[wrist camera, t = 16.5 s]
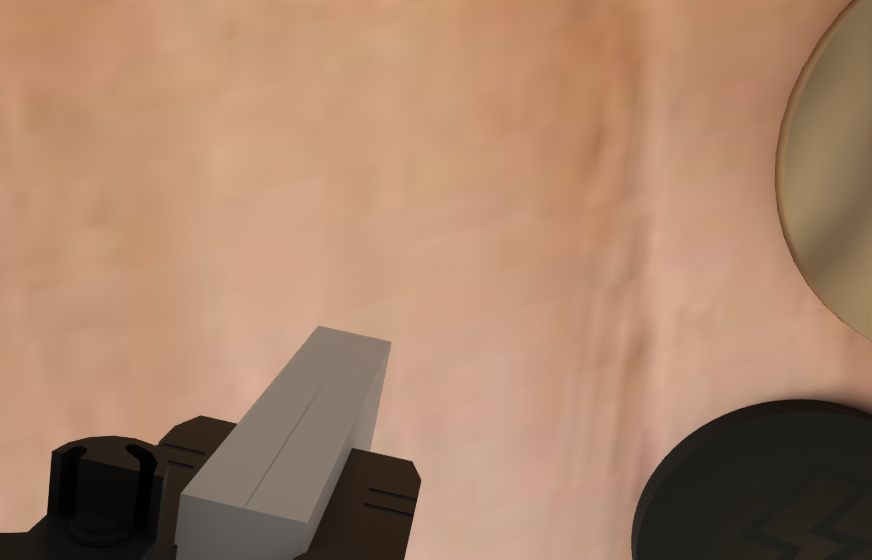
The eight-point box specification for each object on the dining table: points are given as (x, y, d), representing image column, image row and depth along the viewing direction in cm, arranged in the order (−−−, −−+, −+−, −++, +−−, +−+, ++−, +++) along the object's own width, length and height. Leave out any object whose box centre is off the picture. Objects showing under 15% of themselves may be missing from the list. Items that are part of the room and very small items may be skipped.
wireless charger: (604, 639, 46) (609, 662, 44) (665, 373, 42) (672, 387, 40) (895, 691, 45) (913, 717, 44) (988, 425, 41) (1012, 441, 39)
